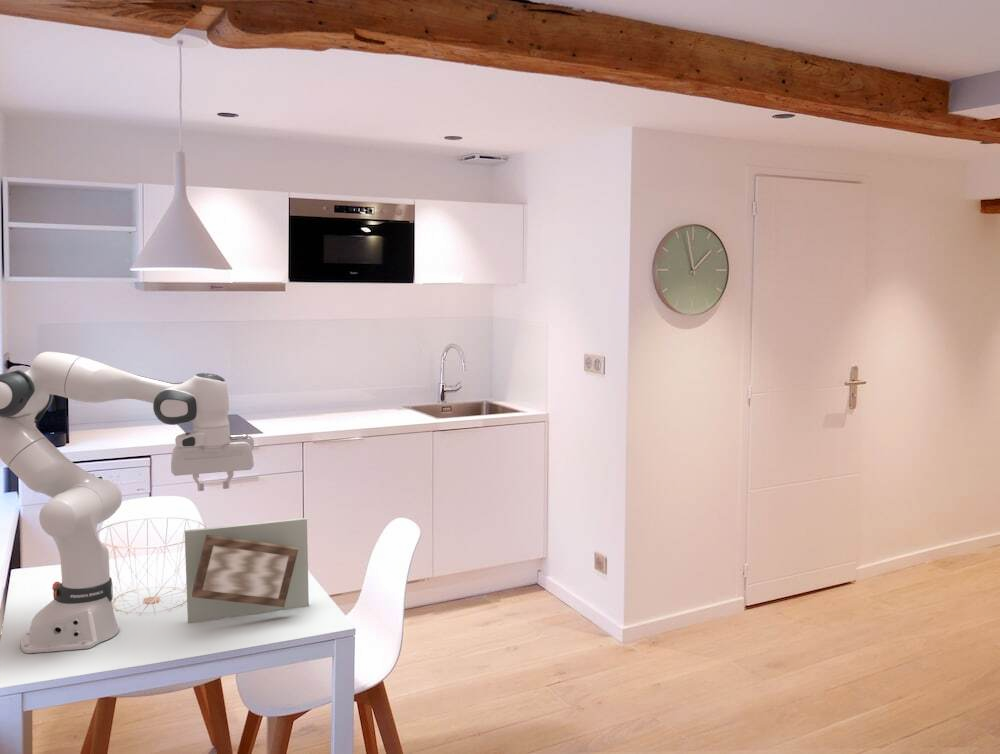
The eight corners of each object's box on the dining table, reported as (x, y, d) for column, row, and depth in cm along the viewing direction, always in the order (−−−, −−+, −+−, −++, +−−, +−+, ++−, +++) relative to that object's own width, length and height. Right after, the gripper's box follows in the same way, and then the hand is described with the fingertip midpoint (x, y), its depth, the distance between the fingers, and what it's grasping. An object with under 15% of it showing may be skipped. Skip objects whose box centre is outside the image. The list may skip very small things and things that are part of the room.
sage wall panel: (189, 629, 227) (186, 536, 225) (187, 621, 233) (184, 530, 230) (311, 611, 240) (310, 523, 237) (307, 604, 246) (305, 517, 243)
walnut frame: (192, 597, 224) (207, 537, 224) (191, 594, 226) (206, 534, 226) (284, 607, 234) (298, 549, 234) (282, 604, 236) (296, 547, 236)
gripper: (251, 432, 230) (253, 483, 232) (169, 437, 222) (171, 490, 223) (255, 435, 224) (256, 488, 226) (170, 441, 216) (172, 495, 218)
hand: (213, 489), depth 225 cm, fingers open, 5 cm apart
